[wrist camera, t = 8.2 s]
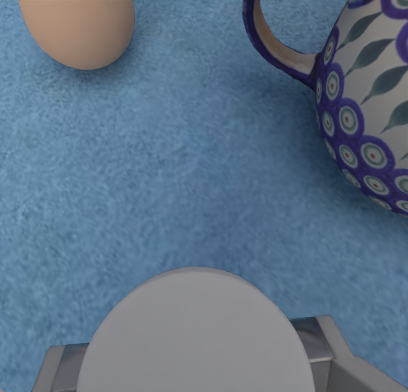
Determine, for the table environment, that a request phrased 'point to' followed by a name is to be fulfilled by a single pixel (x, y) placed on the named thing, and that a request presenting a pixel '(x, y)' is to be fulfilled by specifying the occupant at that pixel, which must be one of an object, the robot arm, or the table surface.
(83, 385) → the pill bottle
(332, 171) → the table surface
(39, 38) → the egg
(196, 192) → the table surface
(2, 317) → the table surface
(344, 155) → the teapot
